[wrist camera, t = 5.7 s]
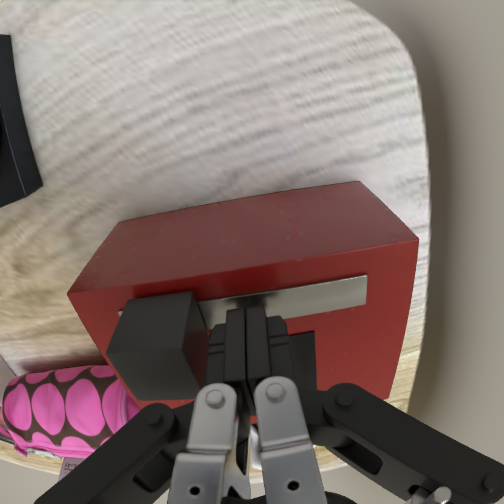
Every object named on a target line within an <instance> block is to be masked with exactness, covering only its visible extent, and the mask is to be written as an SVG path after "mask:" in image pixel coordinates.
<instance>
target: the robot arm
mask: <svg viewBox="0 0 504 504" xmlns="http://www.w3.org/2000/svg"><path fill="white" fill-rule="evenodd" d="M207 353H208V355H207V362H206V372H205V382H204V388H202V389H201V390H200V391H199V393H198V394H197V396H196V399H195V400H194V401H192V402H190V403H188V404H185V405H182V406H179V407H176V408H173V409H171V408H170V407H169V406H168V405H166V404H163V403H152V404H149V405H147V406H145V407H144V408H142V409H141V410H140V411H139V412H138V413H137V414H136V415H135V416H134V417H132V418H131V419H130V420H129V421H128V422H127V423H126V424H125V425H124V426H122V427H121V428H120V429H119V430H118V431H117V432H116V433H115V434H113V435H112V436H111V437H110V438H109V439H108V440H107V441H105V442H104V443H103V444H102V445H101V446H100V447H99V448H97V449H96V450H95V451H94V452H93V453H92V454H91V455H89V456H88V457H87V458H86V459H85V460H84V461H82V462H81V463H80V464H79V465H78V466H77V467H75V468H74V469H73V470H72V471H71V472H69V473H68V474H67V475H66V476H65V477H63V478H62V479H61V480H60V481H59V482H57V484H55V485H54V486H53V487H51V488H50V489H49V490H48V491H47V492H45V493H44V494H43V495H42V496H40V497H39V498H38V499H37V500H36V501H35V502H34V504H153V503H154V502H155V501H156V500H157V499H158V498H159V497H160V496H161V495H162V494H163V493H164V492H165V491H166V490H168V489H169V488H170V489H169V494H168V500H167V504H357V503H355V502H354V501H353V500H351V499H349V498H347V497H345V496H342V495H340V494H337V493H333V492H327V491H324V487H323V483H322V479H321V475H320V471H319V467H318V463H317V459H316V455H315V451H314V447H313V445H318V446H325V448H326V449H328V450H329V451H330V452H332V453H333V454H334V455H336V456H337V457H338V458H340V459H341V460H343V461H344V462H346V463H347V464H348V465H350V466H351V467H353V468H354V469H356V470H357V471H359V472H360V473H362V474H363V475H365V476H366V477H368V478H369V479H371V480H372V481H374V482H375V483H377V484H378V485H380V486H382V487H383V488H385V489H387V490H388V491H390V492H391V493H393V494H394V495H396V496H398V497H399V498H401V499H403V500H404V501H406V502H405V504H494V503H495V502H497V501H499V499H501V498H502V497H503V496H504V465H503V464H501V463H499V462H498V461H495V460H493V459H491V458H489V457H487V456H485V455H483V454H481V453H479V452H477V451H475V450H473V449H471V448H469V447H467V446H465V445H463V444H461V443H459V442H458V441H456V440H454V439H452V438H450V437H448V436H446V435H444V434H442V433H440V432H439V431H437V430H435V429H433V428H431V427H429V426H428V425H426V424H424V423H422V422H420V421H419V420H417V419H415V418H413V417H411V416H410V415H408V414H406V413H404V412H403V411H401V410H399V409H397V408H396V407H394V406H392V405H390V404H389V403H387V402H385V401H383V400H382V399H380V398H378V397H377V396H375V395H373V394H372V393H370V392H368V391H366V390H365V389H363V388H361V387H360V386H358V385H356V384H353V383H339V384H336V385H334V386H332V387H330V388H329V389H328V390H327V391H323V390H314V389H310V388H307V387H305V386H303V385H302V384H300V383H299V382H298V380H297V379H296V377H295V373H294V367H293V361H292V354H291V348H290V342H289V336H288V330H287V323H286V322H285V321H284V320H283V319H282V317H281V316H280V315H277V316H271V317H267V314H266V308H265V304H263V305H256V306H250V307H246V308H245V307H243V308H237V309H229V310H227V311H226V323H222V324H215V326H214V328H213V329H212V331H211V332H210V334H209V342H208V352H207ZM250 416H257V423H258V431H259V438H260V445H261V449H260V460H261V467H262V474H263V481H264V487H265V495H263V496H260V497H257V498H253V499H251V488H250V482H249V468H250V452H251V423H250Z"/></svg>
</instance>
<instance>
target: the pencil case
mask: <svg viewBox="0 0 504 504" xmlns="http://www.w3.org/2000/svg"><path fill="white" fill-rule="evenodd" d="M1 410H2V418H3V422H4V424H5V426H6V428H7V429H8V431H9V432H10V434H11V436H12V437H13V439H14V441H15V444H14V449H15V450H16V451H17V452H18V453H19V454H21V455H23V456H25V457H27V452H28V454H33V453H37V454H39V455H44V456H49V457H55V455H56V456H60V457H76V458H87V457H88V456H89V455H91V454H92V453H93V452H94V451H95V450H96V449H97V448H99V447H100V446H101V445H102V444H103V443H104V442H105V441H107V440H108V439H109V438H110V437H111V436H112V435H113V434H115V433H116V432H117V431H118V430H119V429H120V428H121V427H122V426H124V425H125V424H126V423H127V422H128V421H129V420H130V419H131V418H132V417H134V416H135V415H136V414H137V413H138V412H139V411H140V410H141V409H140V408H139V406H138V405H137V404H136V403H135V401H134V400H133V399H132V397H131V396H130V394H129V393H128V392H127V390H126V389H125V388H124V386H123V385H122V383H121V382H120V381H119V379H118V378H117V376H116V375H115V373H114V372H113V370H112V369H111V367H110V366H109V365H105V366H100V365H89V366H82V367H73V368H65V369H59V370H50V371H47V372H43V373H33V374H25V375H22V376H20V377H17V378H15V379H13V380H12V381H10V382H9V383H8V385H7V387H6V389H5V391H4V394H3V399H2V408H1Z"/></svg>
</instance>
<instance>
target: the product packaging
mask: <svg viewBox="0 0 504 504" xmlns="http://www.w3.org/2000/svg"><path fill="white" fill-rule="evenodd" d="M15 378H17V376H16V375H15V374H14V373H13V372H12V370H11V369H10V368H9V366H8V365H7V364H6V363H5V361H4V360H3V359H2V357H1V356H0V441H1V442H4V443H7V444H10V445H12V446H14V444H15V441H14V439H13V437H12V436H11V434H10V432H9V431H8V429H7V428H6V426H5V424H4V422H3V418H2V410H1V408H2V399H3V394H4V391H5V389H6V387H7V385H8V383H9V382H10V381H12V380H13V379H15ZM53 458H57V459H62V457H60V456H56V455H55V457H53Z"/></svg>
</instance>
